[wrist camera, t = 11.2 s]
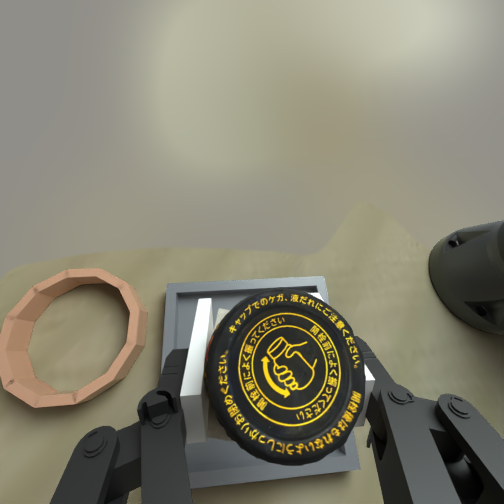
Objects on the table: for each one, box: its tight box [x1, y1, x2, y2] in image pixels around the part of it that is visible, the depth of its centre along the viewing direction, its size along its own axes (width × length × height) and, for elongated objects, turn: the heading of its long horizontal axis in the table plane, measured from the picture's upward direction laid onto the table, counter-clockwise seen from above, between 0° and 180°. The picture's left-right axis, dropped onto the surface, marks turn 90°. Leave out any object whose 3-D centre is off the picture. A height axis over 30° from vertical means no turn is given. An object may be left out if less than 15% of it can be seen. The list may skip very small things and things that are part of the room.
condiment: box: [204, 288, 366, 466], centre depth 13 cm, size 7×8×12 cm
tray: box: [161, 276, 360, 489], centre depth 29 cm, size 20×20×2 cm
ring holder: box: [0, 268, 148, 408], centre depth 29 cm, size 14×14×3 cm
